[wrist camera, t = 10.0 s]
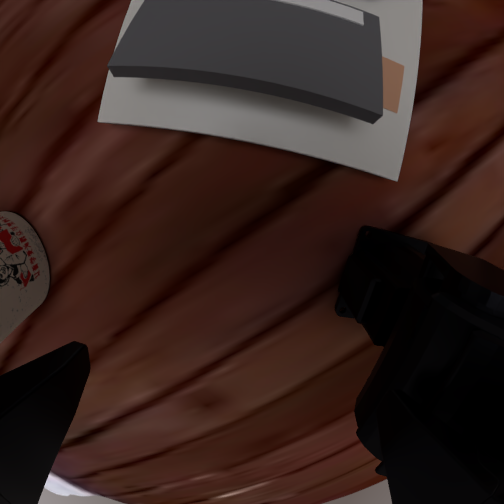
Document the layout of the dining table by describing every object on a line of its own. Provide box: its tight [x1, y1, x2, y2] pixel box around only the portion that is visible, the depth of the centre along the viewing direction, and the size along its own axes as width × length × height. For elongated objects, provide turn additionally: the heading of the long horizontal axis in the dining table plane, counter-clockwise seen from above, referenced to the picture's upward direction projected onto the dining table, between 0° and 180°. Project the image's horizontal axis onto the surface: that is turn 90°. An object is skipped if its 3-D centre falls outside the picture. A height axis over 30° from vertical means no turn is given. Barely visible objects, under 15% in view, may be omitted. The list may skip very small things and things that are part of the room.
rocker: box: [107, 0, 383, 124], centre depth 11 cm, size 12×7×1 cm, turn 78°
